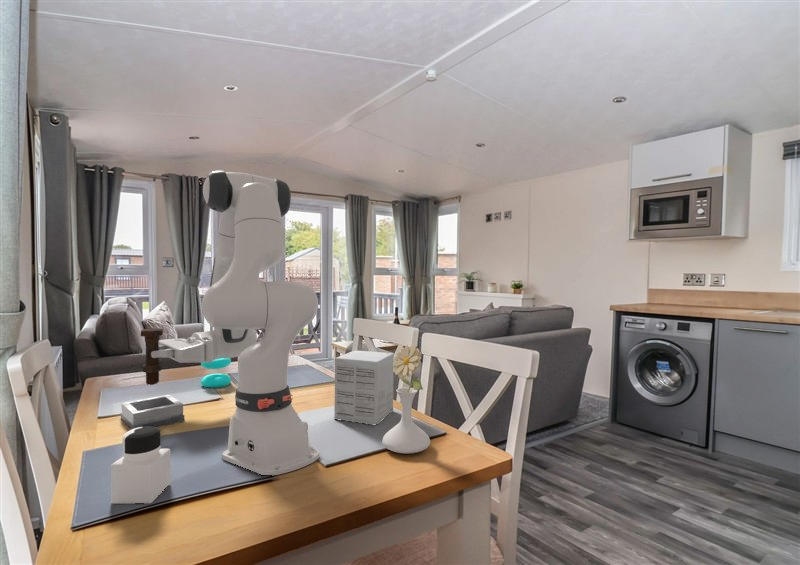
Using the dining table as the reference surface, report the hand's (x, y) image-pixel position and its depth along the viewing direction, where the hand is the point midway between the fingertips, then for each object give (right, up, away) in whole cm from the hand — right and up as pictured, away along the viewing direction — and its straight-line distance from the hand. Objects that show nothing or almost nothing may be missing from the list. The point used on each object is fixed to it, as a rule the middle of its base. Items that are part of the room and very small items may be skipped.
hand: (148, 353), depth 118 cm
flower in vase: (+70, -20, -17) cm, 75 cm away
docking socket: (0, -18, +1) cm, 19 cm away
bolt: (+1, -9, +1) cm, 9 cm away
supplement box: (+58, -19, +7) cm, 62 cm away
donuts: (+3, -18, +37) cm, 41 cm away
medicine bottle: (+21, -20, -38) cm, 48 cm away
